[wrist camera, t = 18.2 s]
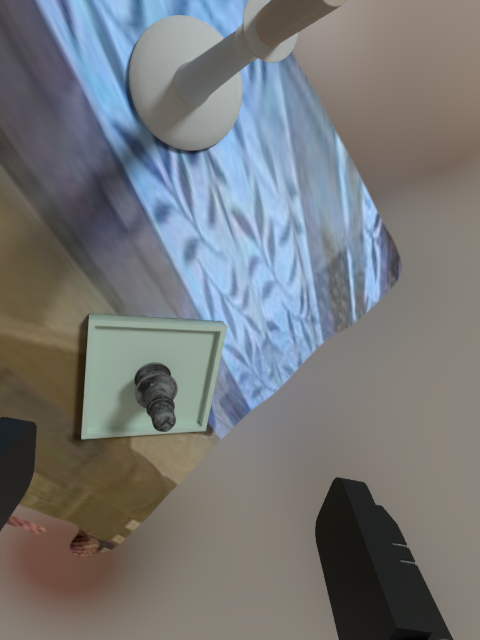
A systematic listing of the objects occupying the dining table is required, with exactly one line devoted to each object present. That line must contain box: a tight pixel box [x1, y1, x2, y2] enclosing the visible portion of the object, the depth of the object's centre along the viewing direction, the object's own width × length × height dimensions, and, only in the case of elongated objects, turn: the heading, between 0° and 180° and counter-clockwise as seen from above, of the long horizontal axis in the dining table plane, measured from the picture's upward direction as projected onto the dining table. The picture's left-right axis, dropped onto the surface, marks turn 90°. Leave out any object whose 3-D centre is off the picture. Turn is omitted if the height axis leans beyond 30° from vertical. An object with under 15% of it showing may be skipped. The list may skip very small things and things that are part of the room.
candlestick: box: [129, 0, 347, 151], centre depth 28 cm, size 13×13×30 cm
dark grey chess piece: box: [135, 362, 178, 432], centre depth 48 cm, size 6×6×12 cm
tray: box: [81, 314, 227, 439], centre depth 53 cm, size 19×19×2 cm
